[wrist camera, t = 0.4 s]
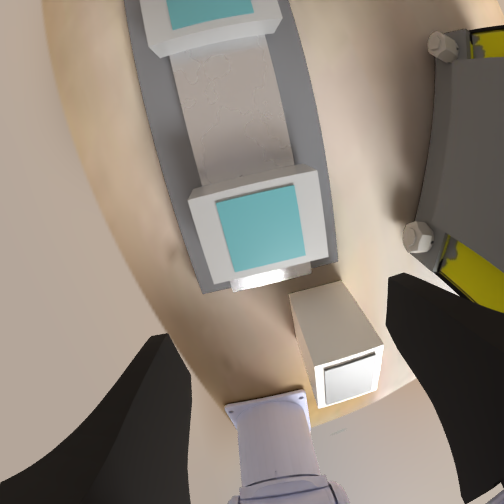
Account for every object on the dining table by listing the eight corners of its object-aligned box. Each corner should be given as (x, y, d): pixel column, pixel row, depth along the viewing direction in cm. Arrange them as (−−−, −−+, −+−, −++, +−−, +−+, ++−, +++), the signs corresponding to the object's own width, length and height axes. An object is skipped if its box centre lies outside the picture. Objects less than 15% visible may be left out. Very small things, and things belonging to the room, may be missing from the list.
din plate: (333, 254, 19) (338, 261, 18) (203, 286, 19) (202, 294, 18) (268, -41, 10) (270, -49, 9) (126, -10, 10) (121, -16, 9)
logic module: (343, 325, 22) (377, 391, 15) (296, 338, 22) (318, 410, 15) (341, 280, 20) (385, 346, 13) (288, 294, 20) (315, 368, 13)
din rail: (309, 268, 18) (311, 273, 17) (232, 287, 18) (232, 292, 17) (237, -46, 9) (237, -51, 8) (153, -28, 9) (151, -32, 8)
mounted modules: (315, 239, 16) (329, 257, 14) (215, 262, 16) (214, 285, 14) (255, -28, 9) (260, -49, 7) (147, -4, 9) (135, -23, 7)
